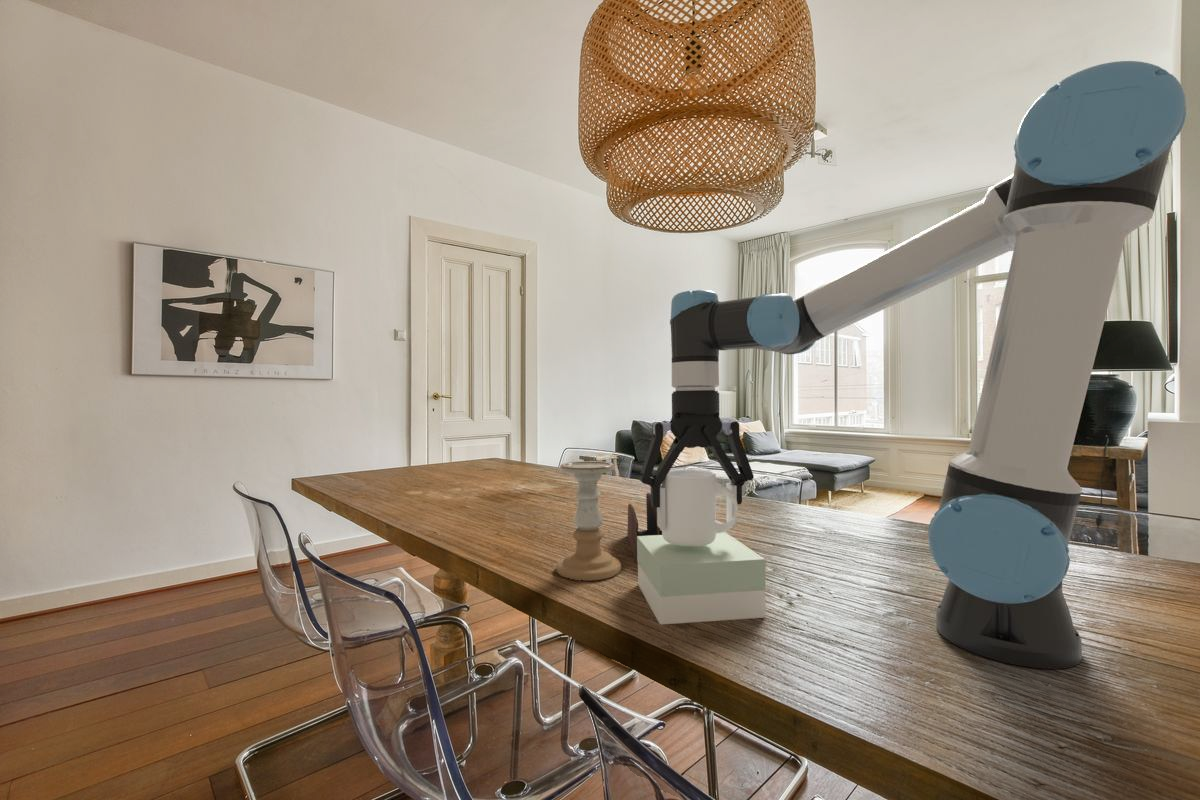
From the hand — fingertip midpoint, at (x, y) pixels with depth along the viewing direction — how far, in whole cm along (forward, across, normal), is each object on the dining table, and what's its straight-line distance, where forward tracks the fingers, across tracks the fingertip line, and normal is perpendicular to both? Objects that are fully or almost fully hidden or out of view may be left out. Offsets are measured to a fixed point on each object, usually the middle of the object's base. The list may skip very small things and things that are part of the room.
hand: (696, 526), depth 84 cm
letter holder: (+12, +1, -30) cm, 32 cm away
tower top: (+8, 0, 0) cm, 8 cm away
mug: (+2, 0, 0) cm, 3 cm away
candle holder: (+12, +16, -17) cm, 26 cm away
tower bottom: (+12, 0, 0) cm, 12 cm away
